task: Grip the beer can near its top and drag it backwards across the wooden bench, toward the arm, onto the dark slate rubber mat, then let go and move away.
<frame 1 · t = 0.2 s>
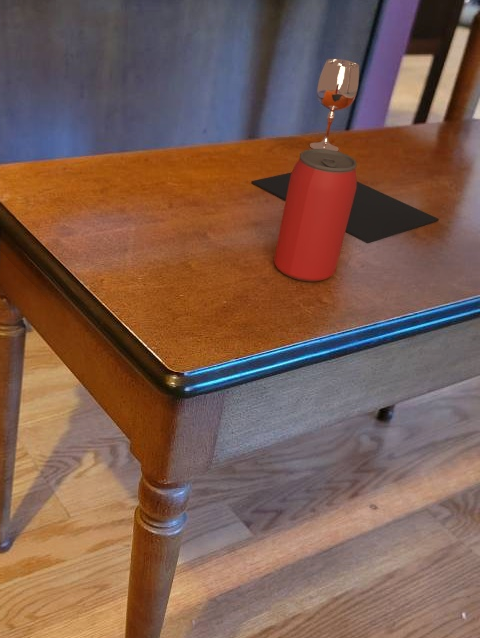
beer can: (303, 271, 79), on the table
mat: (342, 201, 96), on the table
wineglass: (323, 148, 113), on the table
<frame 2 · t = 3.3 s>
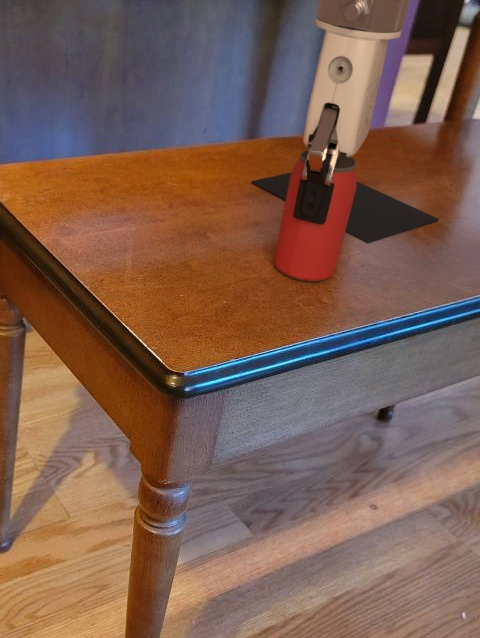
hand: (317, 206, 75), 7 cm above the table, tool pointing down, fingers closed on beer can, 6 cm apart
beer can: (302, 271, 79), on the table, touching gripper
everything else where it was.
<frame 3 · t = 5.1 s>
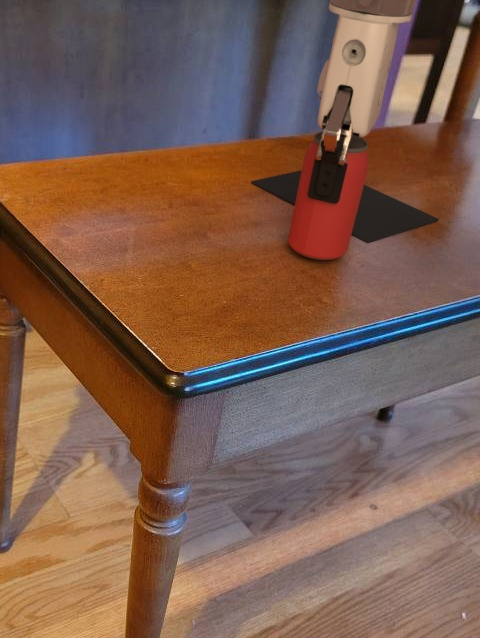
hand: (330, 186, 78), 8 cm above the table, tool pointing down, fingers closed on beer can, 6 cm apart
beer can: (316, 250, 82), point 1 cm above the table, touching gripper
everything else where it was.
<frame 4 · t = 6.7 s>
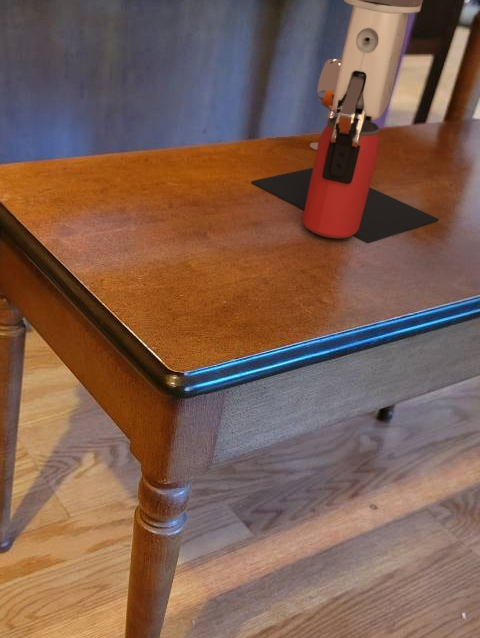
hand: (343, 168, 82), 8 cm above the table, tool pointing down, fingers closed on beer can, 6 cm apart
beer can: (329, 230, 87), point 1 cm above the table, touching gripper
everything else where it was.
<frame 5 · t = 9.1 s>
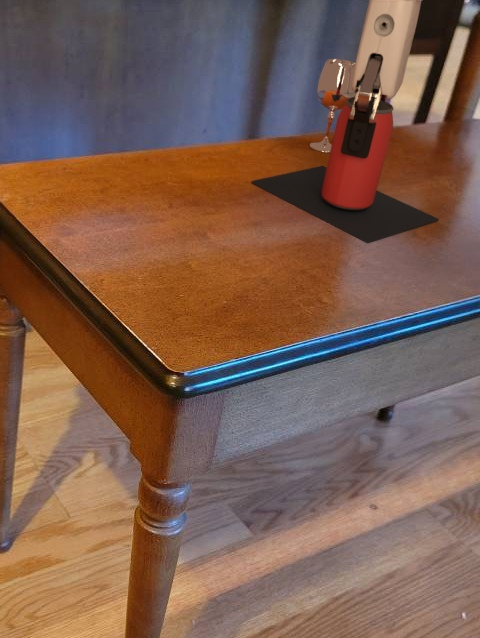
hand: (359, 145, 89), 8 cm above the table, tool pointing down, fingers closed on beer can, 6 cm apart
beer can: (345, 203, 94), point 1 cm above the table, touching gripper
everything else where it was.
when the fingers open (7 cm above the table, at t = 10.5 s): beer can stays where it is, resting on mat.
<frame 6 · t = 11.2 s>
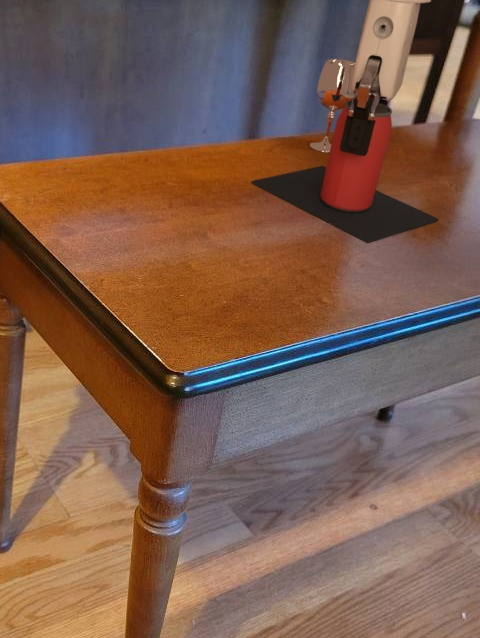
hand: (360, 141, 90), 8 cm above the table, tool pointing down, fingers open, 9 cm apart
beer can: (344, 205, 95), resting on mat
everything else where it was.
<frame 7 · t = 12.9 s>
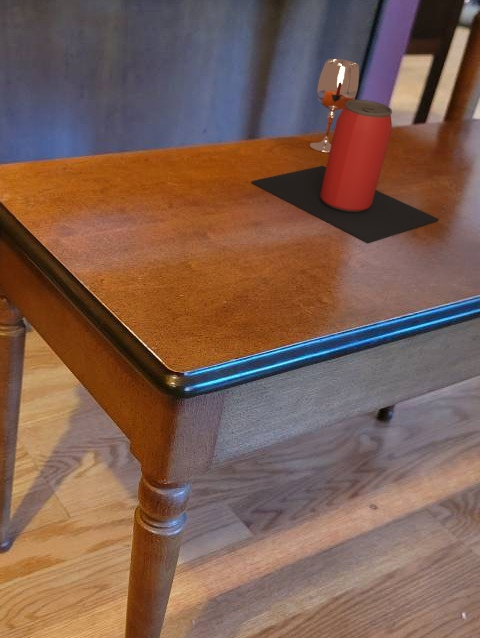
nothing on the table moved.
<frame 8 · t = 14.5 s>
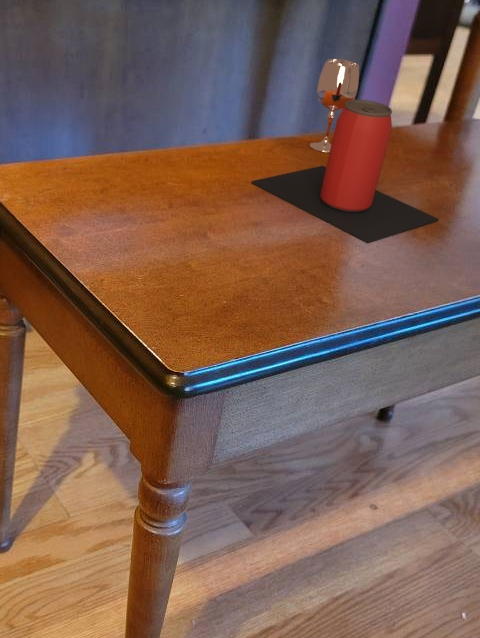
nothing on the table moved.
at the end: beer can inside the target area on the mat (1.4 cm from its centre), point 0.1 cm above the mat's base; beer can tilted 0°; beer can moved 20.6 cm from its start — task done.
